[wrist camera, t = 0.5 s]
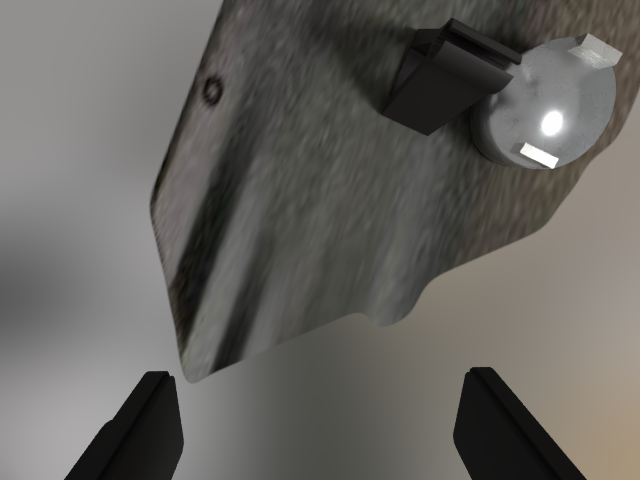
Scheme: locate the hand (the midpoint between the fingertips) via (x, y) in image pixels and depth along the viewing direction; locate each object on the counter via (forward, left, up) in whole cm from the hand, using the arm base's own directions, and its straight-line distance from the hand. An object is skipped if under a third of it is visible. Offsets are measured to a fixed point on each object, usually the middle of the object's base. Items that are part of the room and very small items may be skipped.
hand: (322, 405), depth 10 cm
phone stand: (-18, +6, -29) cm, 35 cm away
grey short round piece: (-20, +18, -29) cm, 39 cm away
